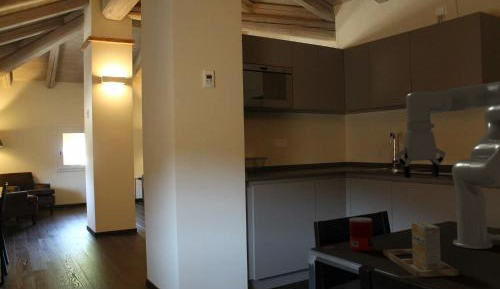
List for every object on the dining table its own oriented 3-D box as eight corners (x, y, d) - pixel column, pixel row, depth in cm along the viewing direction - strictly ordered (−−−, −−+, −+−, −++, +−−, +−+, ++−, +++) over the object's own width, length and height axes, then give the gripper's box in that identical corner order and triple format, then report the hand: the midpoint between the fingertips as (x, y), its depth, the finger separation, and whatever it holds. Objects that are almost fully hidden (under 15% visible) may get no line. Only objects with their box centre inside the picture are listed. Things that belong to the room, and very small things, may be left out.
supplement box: (412, 264, 121) (410, 222, 121) (427, 264, 121) (425, 221, 122) (425, 272, 113) (424, 226, 113) (441, 272, 113) (440, 226, 113)
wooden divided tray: (417, 253, 136) (417, 248, 136) (458, 275, 111) (458, 270, 111) (383, 254, 135) (383, 249, 135) (416, 277, 110) (416, 271, 110)
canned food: (374, 252, 139) (373, 220, 139) (350, 251, 140) (349, 220, 140) (372, 247, 146) (371, 217, 146) (349, 246, 148) (348, 217, 148)
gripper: (437, 127, 140) (440, 175, 140) (390, 129, 140) (392, 177, 139) (449, 126, 133) (451, 177, 133) (398, 128, 132) (401, 179, 132)
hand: (421, 177), depth 136 cm, fingers open, 9 cm apart
